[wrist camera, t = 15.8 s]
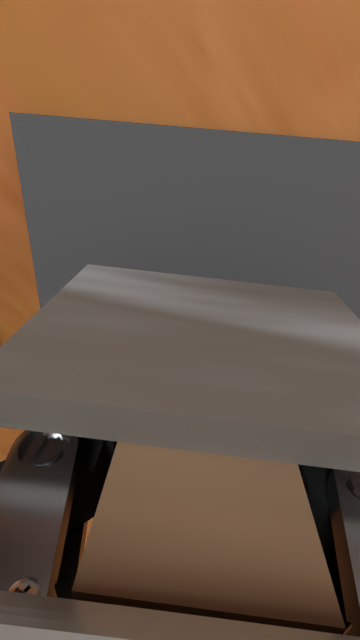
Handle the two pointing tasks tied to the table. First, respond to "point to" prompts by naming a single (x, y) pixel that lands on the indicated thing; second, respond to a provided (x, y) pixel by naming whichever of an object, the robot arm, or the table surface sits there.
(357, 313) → the mat
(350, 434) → the brown grey block
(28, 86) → the table surface
